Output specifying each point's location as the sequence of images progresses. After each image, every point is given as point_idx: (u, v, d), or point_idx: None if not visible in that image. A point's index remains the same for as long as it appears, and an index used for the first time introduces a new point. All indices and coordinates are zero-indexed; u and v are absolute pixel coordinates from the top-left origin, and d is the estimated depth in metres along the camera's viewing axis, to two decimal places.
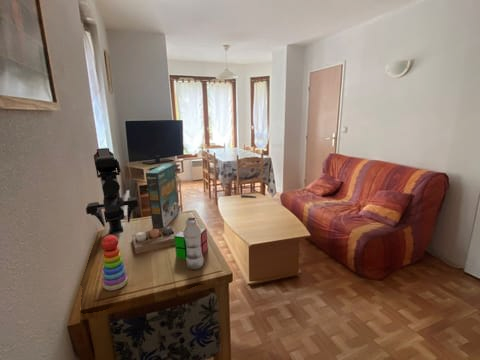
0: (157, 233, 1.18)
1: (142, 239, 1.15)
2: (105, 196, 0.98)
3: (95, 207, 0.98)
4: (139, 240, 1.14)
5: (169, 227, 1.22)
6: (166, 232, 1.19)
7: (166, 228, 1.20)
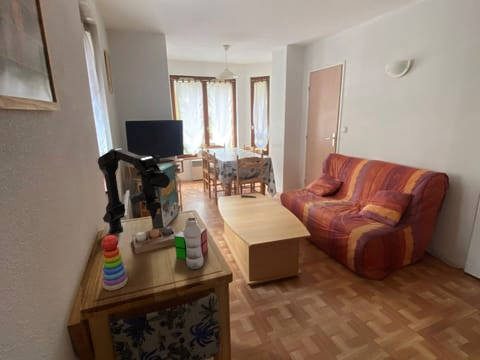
0: (157, 233, 1.18)
1: (142, 239, 1.15)
2: (141, 190, 1.14)
3: None
4: (139, 240, 1.14)
5: (169, 227, 1.22)
6: (166, 232, 1.19)
7: (166, 228, 1.20)
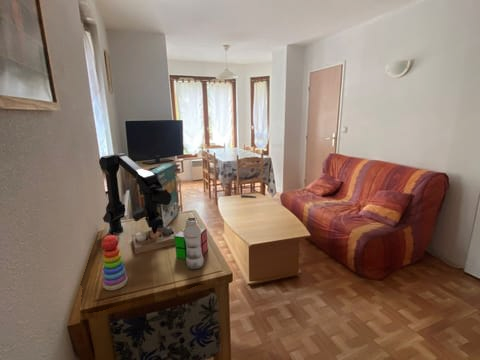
0: (157, 235, 1.18)
1: (142, 239, 1.15)
2: (143, 206, 1.16)
3: None
4: (139, 240, 1.14)
5: (169, 227, 1.22)
6: (166, 232, 1.19)
7: (166, 228, 1.20)
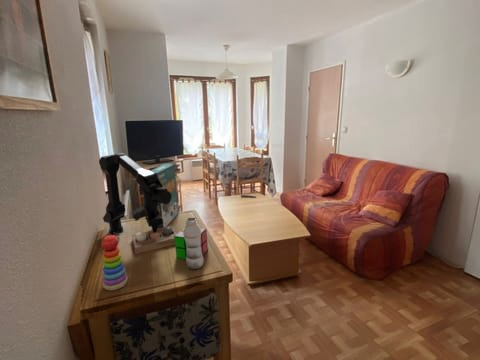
0: (157, 237, 1.18)
1: (142, 239, 1.15)
2: (143, 205, 1.15)
3: None
4: (139, 240, 1.14)
5: (169, 227, 1.22)
6: (166, 232, 1.19)
7: (166, 228, 1.20)
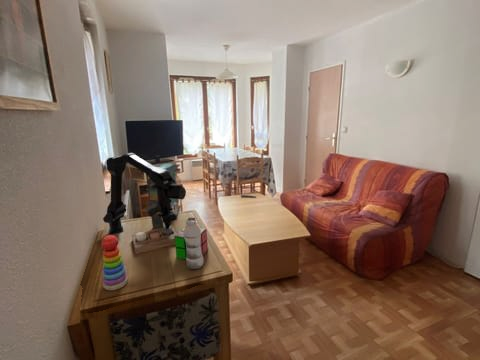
0: (157, 237, 1.18)
1: (142, 239, 1.15)
2: (156, 201, 1.18)
3: None
4: (139, 240, 1.14)
5: (169, 228, 1.22)
6: (166, 232, 1.20)
7: (166, 229, 1.21)
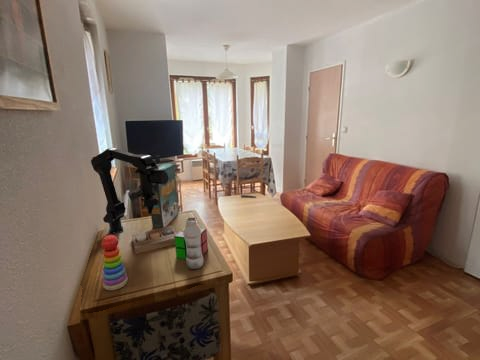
0: (157, 237, 1.18)
1: (142, 239, 1.15)
2: (139, 186, 1.19)
3: None
4: (139, 240, 1.14)
5: (169, 231, 1.22)
6: None
7: (166, 232, 1.21)
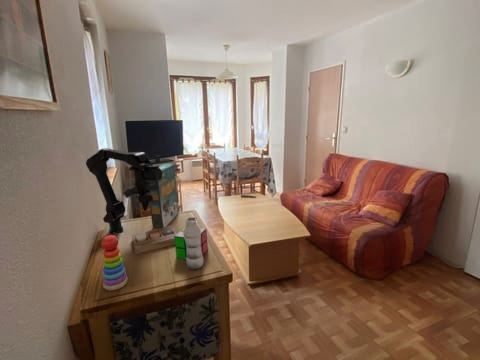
0: (157, 237, 1.18)
1: (142, 239, 1.15)
2: None
3: None
4: (139, 240, 1.14)
5: (169, 231, 1.22)
6: None
7: (166, 232, 1.21)
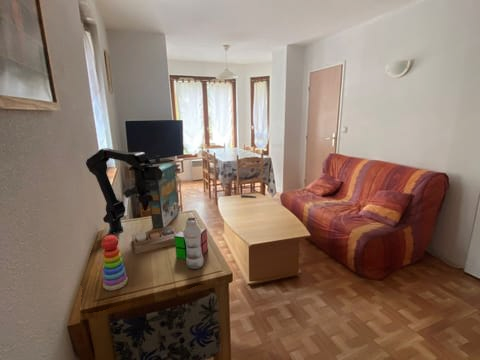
0: (157, 237, 1.18)
1: (142, 239, 1.15)
2: None
3: None
4: (139, 240, 1.14)
5: (169, 231, 1.22)
6: None
7: (166, 232, 1.21)
